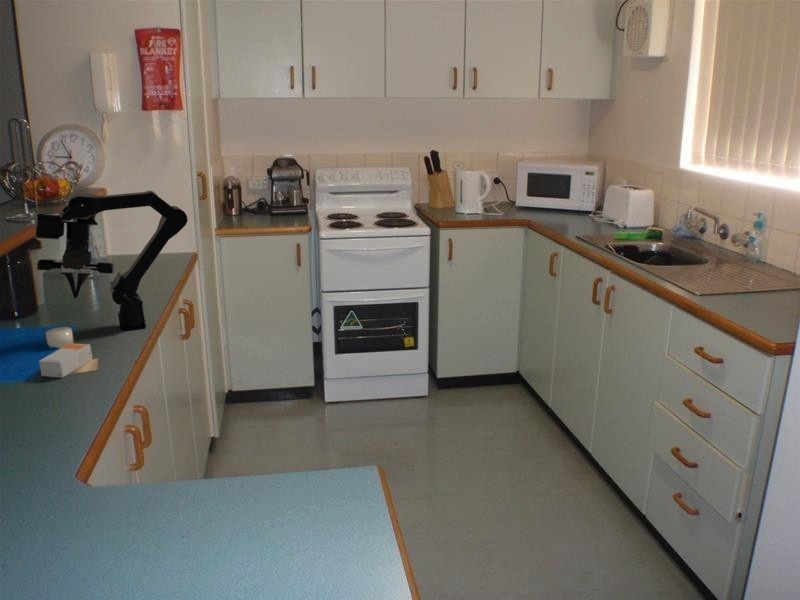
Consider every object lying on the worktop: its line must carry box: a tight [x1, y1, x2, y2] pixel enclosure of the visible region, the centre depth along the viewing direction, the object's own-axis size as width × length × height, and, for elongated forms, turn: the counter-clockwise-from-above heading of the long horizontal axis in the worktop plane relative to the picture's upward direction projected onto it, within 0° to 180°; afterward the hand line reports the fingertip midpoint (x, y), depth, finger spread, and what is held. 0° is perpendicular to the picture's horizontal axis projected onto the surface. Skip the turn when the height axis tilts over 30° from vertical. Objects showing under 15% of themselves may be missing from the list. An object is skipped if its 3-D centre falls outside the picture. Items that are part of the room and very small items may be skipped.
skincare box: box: [38, 343, 93, 379], centre depth 174 cm, size 6×4×12 cm
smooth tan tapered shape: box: [67, 358, 99, 376], centre depth 175 cm, size 10×8×1 cm
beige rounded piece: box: [45, 326, 75, 350], centre depth 190 cm, size 6×6×4 cm
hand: (75, 297), depth 191 cm, fingers closed
